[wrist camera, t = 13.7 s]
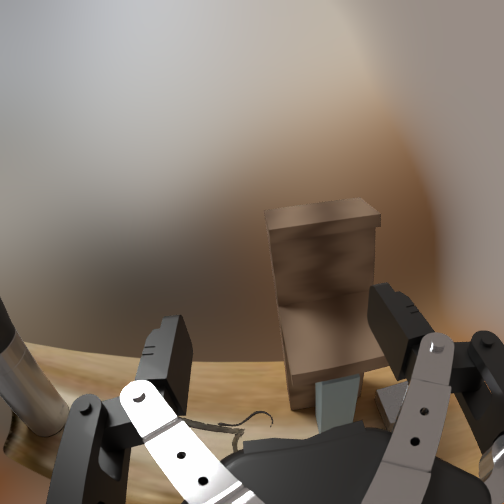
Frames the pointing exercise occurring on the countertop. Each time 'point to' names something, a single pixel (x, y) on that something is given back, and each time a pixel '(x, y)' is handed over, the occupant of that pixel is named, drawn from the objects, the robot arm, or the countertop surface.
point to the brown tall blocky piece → (324, 292)
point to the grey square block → (390, 402)
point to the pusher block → (336, 401)
